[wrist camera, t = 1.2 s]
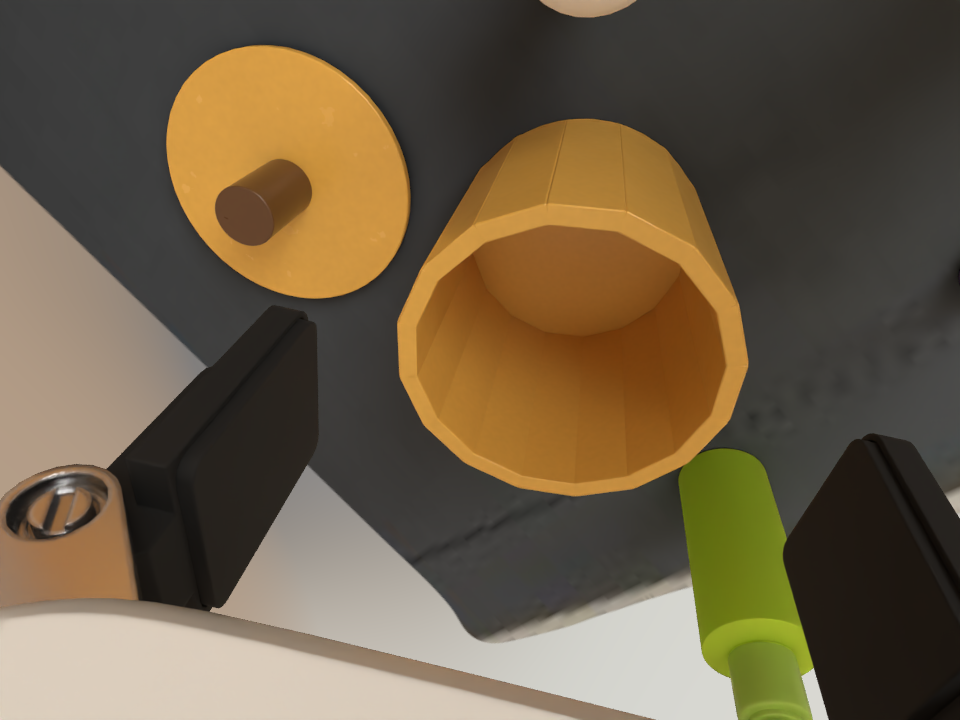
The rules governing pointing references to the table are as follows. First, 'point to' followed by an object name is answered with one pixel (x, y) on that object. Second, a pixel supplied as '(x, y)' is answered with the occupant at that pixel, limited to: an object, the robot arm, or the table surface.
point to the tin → (575, 316)
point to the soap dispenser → (744, 585)
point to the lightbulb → (587, 6)
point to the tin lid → (288, 171)
